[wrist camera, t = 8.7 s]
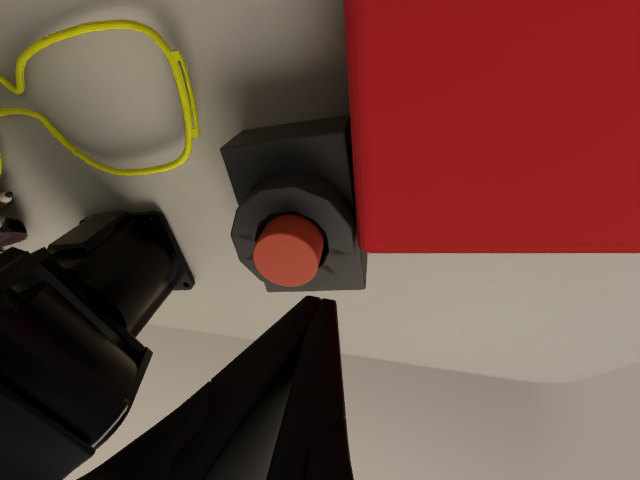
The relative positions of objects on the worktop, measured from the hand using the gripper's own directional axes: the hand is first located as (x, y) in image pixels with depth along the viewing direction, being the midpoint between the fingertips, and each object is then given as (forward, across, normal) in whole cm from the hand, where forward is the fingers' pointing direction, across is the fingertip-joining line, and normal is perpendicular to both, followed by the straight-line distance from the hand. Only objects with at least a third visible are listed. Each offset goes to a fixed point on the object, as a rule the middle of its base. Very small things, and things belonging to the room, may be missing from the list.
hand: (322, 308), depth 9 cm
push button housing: (+11, +4, +3) cm, 12 cm away
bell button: (+6, +3, +3) cm, 7 cm away
